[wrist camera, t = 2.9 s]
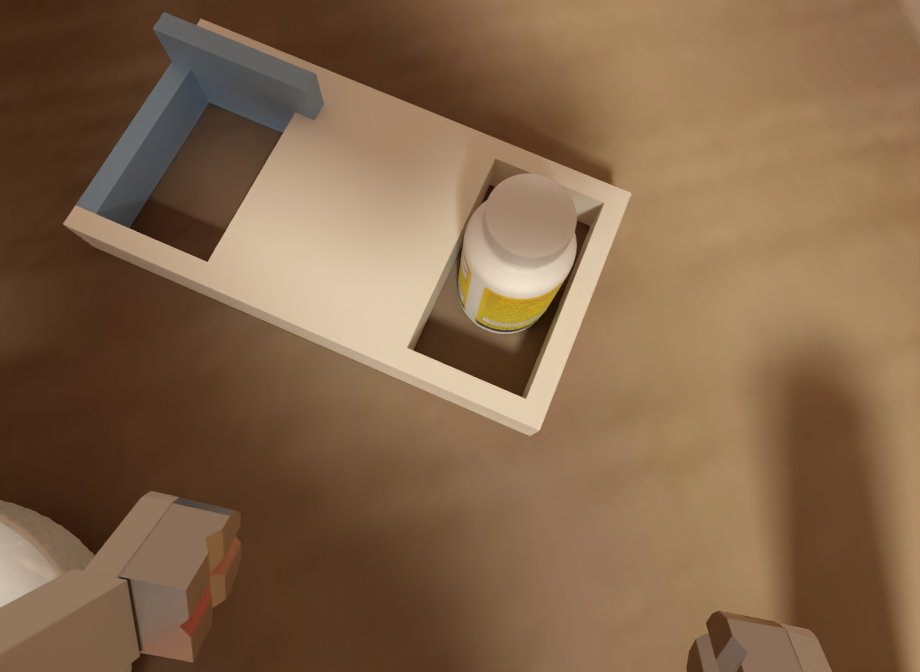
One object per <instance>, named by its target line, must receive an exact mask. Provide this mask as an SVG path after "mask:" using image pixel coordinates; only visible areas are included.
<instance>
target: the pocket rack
mask: <svg viewBox="0 0 920 672" xmlns="http://www.w3.org/2000/svg"><path fill="white" fill-rule="evenodd" d="M152 29H153V31H154V33H155V34H156V36H157V38H158V39H159V41H160V43H161V44H162V46H163V48H164V49H165V51H166V53H167V55H168V56H169V58H170V60H171V61H172V62H171V64H170V65H169V67H168V68H167V70H166V71H165V73H164V74H163V76H162V77H161V79H160V80H159V82H158V83H157V85H156V86H155V88H154V89H153V91H152V92H151V94H150V95H149V97H148V98H147V100H146V101H145V103H144V104H143V106H142V107H141V108H140V110H139V111H138V113H137V114H136V116H135V117H134V119H133V120H132V122H131V123H130V125H129V126H128V128H127V129H126V131H125V132H124V134H123V135H122V137H121V138H120V140H119V141H118V143H117V144H116V146H115V147H114V149H113V150H112V152H111V153H110V155H109V156H108V158H107V159H106V161H105V162H104V164H103V165H102V167H101V168H100V170H99V171H98V173H97V174H96V176H95V177H94V179H93V180H92V182H91V183H90V184H89V186H88V187H87V189H86V190H85V192H84V193H83V195H82V196H81V198H80V199H79V201H78V202H77V204H76V205H75V207H74V208H73V210H72V211H71V213H70V214H69V216H68V217H67V219H66V220H65V222H64V223H63V225H64V226H66V227H67V228H69V229H70V230H71V231H73V232H74V233H75V234H77V235H78V236H79V237H81V238H82V239H84V240H85V241H86V242H88V243H89V244H90V245H92V246H93V247H95V248H97V249H99V250H102V251H104V252H106V253H109V254H111V255H113V256H116V257H118V258H120V259H122V260H125V261H127V262H129V263H132V264H134V265H136V266H139V267H141V268H143V269H146V270H148V271H150V272H152V273H155V274H157V275H159V276H162V277H164V278H166V279H169V280H171V281H173V282H176V283H178V284H180V285H182V286H185V287H187V288H189V289H192V290H194V291H196V292H199V293H201V294H203V295H206V296H208V297H210V298H212V299H215V300H217V301H219V302H222V303H224V304H226V305H229V306H231V307H233V308H235V309H238V310H240V311H242V312H245V313H247V314H249V315H252V316H254V317H256V318H259V319H261V320H263V321H265V322H268V323H270V324H272V325H275V326H277V327H279V328H282V329H284V330H286V331H289V332H291V333H293V334H295V335H298V336H300V337H302V338H305V339H307V340H309V341H312V342H314V343H316V344H319V345H321V346H323V347H325V348H328V349H330V350H332V351H335V352H337V353H339V354H342V355H344V356H346V357H349V358H351V359H353V360H355V361H358V362H360V363H362V364H365V365H367V366H369V367H372V368H374V369H376V370H379V371H381V372H383V373H385V374H388V375H390V376H392V377H395V378H397V379H399V380H402V381H404V382H406V383H409V384H411V385H413V386H415V387H418V388H420V389H422V390H425V391H427V392H429V393H432V394H434V395H436V396H438V397H441V398H443V399H445V400H448V401H450V402H452V403H455V404H457V405H459V406H462V407H464V408H466V409H468V410H471V411H473V412H475V413H478V414H480V415H482V416H485V417H487V418H489V419H492V420H494V421H496V422H498V423H501V424H503V425H505V426H508V427H510V428H512V429H515V430H517V431H519V432H522V433H524V434H526V435H528V436H531V435H532V434H534V433H536V432H538V431H540V428H541V426H542V423H543V420H544V418H545V415H546V413H547V410H548V407H549V405H550V402H551V400H552V397H553V395H554V392H555V389H556V387H557V384H558V382H559V379H560V376H561V374H562V371H563V369H564V366H565V364H566V361H567V358H568V356H569V353H570V351H571V348H572V346H573V343H574V340H575V338H576V335H577V333H578V330H579V327H580V325H581V322H582V320H583V317H584V315H585V312H586V309H587V307H588V304H589V302H590V299H591V296H592V294H593V291H594V289H595V286H596V284H597V281H598V278H599V276H600V273H601V271H602V268H603V266H604V263H605V260H606V258H607V255H608V253H609V250H610V247H611V245H612V242H613V240H614V237H615V235H616V232H617V229H618V227H619V224H620V222H621V219H622V216H623V214H624V211H625V209H626V206H627V204H628V201H629V198H630V196H631V193H630V192H627V191H625V190H622V189H620V188H617V187H615V186H612V185H610V184H607V183H605V182H603V181H600V180H598V179H595V178H593V177H590V176H588V175H585V174H583V173H580V172H578V171H575V170H573V169H570V168H568V167H566V166H563V165H561V164H558V163H556V162H553V161H551V160H548V159H546V158H543V157H541V156H538V155H536V154H533V153H531V152H529V151H526V150H524V149H521V148H519V147H516V146H514V145H511V144H509V143H506V142H504V141H501V140H499V139H497V138H494V137H492V136H489V135H487V134H484V133H482V132H479V131H477V130H474V129H472V128H469V127H467V126H464V125H462V124H460V123H457V122H455V121H452V120H450V119H447V118H445V117H442V116H440V115H437V114H435V113H432V112H430V111H427V110H425V109H423V108H420V107H418V106H415V105H413V104H410V103H408V102H405V101H403V100H400V99H398V98H395V97H393V96H391V95H388V94H386V93H383V92H381V91H378V90H376V89H373V88H371V87H368V86H366V85H363V84H361V83H358V82H356V81H354V80H351V79H349V78H346V77H344V76H341V75H339V74H336V73H334V72H331V71H329V70H326V69H324V68H322V67H319V66H317V65H314V64H312V63H309V62H307V61H304V60H302V59H299V58H297V57H294V56H292V55H289V54H287V53H285V52H282V51H280V50H277V49H275V48H272V47H270V46H267V45H265V44H262V43H260V42H257V41H255V40H252V39H250V38H248V37H245V36H243V35H240V34H238V33H235V32H233V31H230V30H228V29H225V28H223V27H220V26H218V25H216V24H213V23H211V22H208V21H206V20H203V19H200V21H199V22H198V24H197V25H195V24H192V23H190V22H187V21H185V20H182V19H180V18H177V17H175V16H173V15H170V14H168V13H165V12H164V13H163V14H162V16H161V17H160V18H159V20H158V21H157V23H156V24H155V26H154V27H153V28H152ZM209 103H211V104H213V105H216V106H218V107H221V108H223V109H225V110H228V111H230V112H233V113H235V114H238V115H240V116H242V117H245V118H247V119H250V120H252V121H254V122H257V123H259V124H262V125H264V126H267V127H269V128H271V129H274V130H276V131H279V132H281V133H283V134H282V136H281V137H280V139H279V141H278V143H277V144H276V146H275V148H274V149H273V151H272V153H271V155H270V156H269V158H268V160H267V161H266V163H265V165H264V167H263V168H262V170H261V172H260V173H259V175H258V177H257V178H256V180H255V182H254V184H253V185H252V187H251V189H250V190H249V192H248V194H247V196H246V197H245V199H244V201H243V202H242V204H241V206H240V207H239V209H238V211H237V213H236V214H235V216H234V218H233V219H232V221H231V223H230V225H229V226H228V228H227V230H226V231H225V233H224V235H223V236H222V238H221V240H220V242H219V243H218V245H217V247H216V248H215V250H214V252H213V254H212V255H211V257H210V259H209V260H208V262H206V261H204V260H201V259H199V258H197V257H195V256H192V255H190V254H188V253H185V252H183V251H181V250H178V249H176V248H174V247H171V246H169V245H167V244H164V243H162V242H160V241H157V240H155V239H153V238H150V237H148V236H146V235H143V234H141V233H139V232H136V231H134V230H132V229H129V228H130V227H131V225H132V224H133V222H134V220H135V219H136V217H137V216H138V214H139V213H140V211H141V209H142V208H143V206H144V205H145V203H146V202H147V200H148V198H149V197H150V195H151V194H152V192H153V191H154V189H155V187H156V186H157V184H158V183H159V181H160V180H161V178H162V176H163V175H164V173H165V172H166V170H167V169H168V167H169V165H170V164H171V162H172V161H173V159H174V158H175V156H176V154H177V153H178V151H179V150H180V148H181V147H182V145H183V143H184V142H185V140H186V139H187V137H188V136H189V134H190V132H191V131H192V129H193V128H194V126H195V124H196V123H197V121H198V120H199V118H200V117H201V115H202V113H203V112H204V110H205V109H206V107H207V106H208V104H209ZM527 173H531V174H539V175H542V176H545V177H548V178H550V179H552V180H554V181H556V182H557V183H559V184H560V185H561V186H562V187H563V188H564V189H565V190H566V191H567V192H568V194H569V195H570V197H571V198H572V200H573V202H574V205H575V208H576V213H577V221H579V222H582V223H584V224H586V225H589V226H590V228H589V231H588V233H587V236H586V238H585V241H584V243H583V246H582V248H581V251H580V253H579V256H578V258H577V261H576V263H575V265H574V268H573V270H572V273H571V275H570V278H569V280H568V283H567V285H566V288H565V290H564V293H563V295H562V298H561V300H560V303H559V305H558V308H557V310H556V313H555V315H554V318H553V320H552V323H551V325H550V328H549V330H548V333H547V335H546V338H545V340H544V343H543V345H542V348H541V350H540V353H539V355H538V358H537V360H536V363H535V365H534V368H533V370H532V372H531V375H530V377H529V380H528V382H527V385H526V387H525V390H524V392H523V395H522V397H520V396H518V395H515V394H513V393H511V392H508V391H506V390H504V389H501V388H499V387H497V386H494V385H492V384H490V383H487V382H485V381H483V380H481V379H478V378H476V377H474V376H471V375H469V374H467V373H464V372H462V371H460V370H457V369H455V368H453V367H450V366H448V365H446V364H443V363H441V362H439V361H436V360H434V359H432V358H429V357H427V356H425V355H422V354H420V353H418V352H415V351H413V350H414V348H415V346H416V344H417V342H418V339H419V337H420V335H421V333H422V331H423V329H424V326H425V324H426V322H427V320H428V318H429V316H430V313H431V311H432V309H433V307H434V305H435V303H436V300H437V298H438V296H439V294H440V292H441V290H442V288H443V285H444V283H445V281H446V279H447V277H448V275H449V272H450V270H451V268H452V266H453V264H454V262H455V259H456V257H457V255H458V253H459V251H460V249H461V246H462V244H463V241H464V234H465V231H466V228H467V225H468V222H469V220H470V218H471V216H472V215H473V213H474V212H475V211H476V209H477V208H478V207H479V206H480V205H481V203H482V201H483V199H484V197H485V195H486V192H487V190H488V188H489V186H490V185H491V186H494V187H496V186H497V185H498V184H500V183H501V182H502V181H504V180H505V179H507V178H509V177H512V176H515V175H519V174H527Z"/></svg>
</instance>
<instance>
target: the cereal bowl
mask: <svg viewBox="0 0 920 672" xmlns="http://www.w3.org/2000/svg"><path fill="white" fill-rule="evenodd" d="M93 557H94V554H93V553H92V552H91V551H89V550H88V548H87V547H86V546H84V544H82V543H81V541H80V539H79V538H77V537H75V536H74V535H73V534H71V533H70V532H69V531H68V530H67V529H65V528H64V527H63V526H61V525H59V524H57V523H55V522H54V521H52V520H51V519H50V518H49V517H45V516H42V515H40V514H38V513H37V512H36V511H33V510H31V509H28V508H24V507H22V506H20V505H16V504H14V503H10V502H4V501H2V500H0V607H2V606H4V605H6V604H8V603H10V602H12V601H14V600H15V599H17V598H19V597H21V596H23V595H25V594H27V593H29V592H31V591H33V590H35V589H36V588H38V587H40V586H42V585H44V584H46V583H48V582H50V581H52V580H54V579H55V578H57V577H59V576H61V575H63V574H65V573H67V572H69V571H71V570H73V569H78V570H84V569H85V568H86V566H87V565H88V564H89V562H90V561H91V560H92V559H93ZM131 669H132V665H131V664H130V665H128V666H127V667H126V668H124V669H123V670H122V671H121V672H131Z"/></svg>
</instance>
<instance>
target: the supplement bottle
mask: <svg viewBox="0 0 920 672" xmlns="http://www.w3.org/2000/svg"><path fill="white" fill-rule="evenodd" d="M576 223H577V213H576V208H575V205H574V202H573V200H572V198H571V197H570V195H569V194H568V192H567V191H566V190H565V189H564V188H563V187H562V186H561V185H560V184H559V183H557V182H556V181H554V180H552V179H550V178H548V177H545V176H542V175H539V174H531V173H527V174H519V175H515V176H512V177H509V178H507V179H505V180H504V181H502V182H501V183H500V184H498V185H497V186H496V187H495V188H494V190H493V191H492V192H491V194H490V195H489V197H488V200H486V201H485V202H484V203H482V204H481V205H480V206H479V207H478V208H477V209H476V211H475V212H474V213H473V215H472V216H471V218H470V220H469V222H468V225H467V228H466V231H465V234H464V241H463V248H462V255H461V262H460V269H459V275H458V297H459V301H460V304H461V306H462V308H463V310H464V312H465V313H466V315H467V316H468V317H469V318H470V319H471V320H472V321H473V322H474V323H475V324H476V325H478V326H479V327H481V328H483V329H485V330H487V331H490V332H494V333H499V334H510V333H516V332H520V331H522V330H525V329H527V328H528V327H530V326H532V325H533V324H534V323H535V322H536V321H537V320H538V319H539V318H540V317H541V316H542V315H543V314H544V312H545V311H546V309H547V308H548V306H549V305H550V303H551V301H552V300H553V298H554V296H555V295H556V293H557V292H558V290H559V288H560V287H561V285H562V284H563V282H564V280H565V279H566V277H567V276H568V274H569V272H570V270H571V268H572V266H573V263H574V260H575V256H576V249H577V242H576V235H575V228H576Z"/></svg>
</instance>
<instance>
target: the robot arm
mask: <svg viewBox="0 0 920 672" xmlns="http://www.w3.org/2000/svg"><path fill="white" fill-rule="evenodd" d="M240 526H241V517H240V512H239V511H236V510H232V509H228V508H223V507H219V506H215V505H211V504H207V503H202V502H198V501H194V500H190V499H186V498H181V497H177V496H172V495H168V494H163V493H159V492H154V491H150V492H148V493H147V494H146V495H144V496H143V497H141V498H140V499H139V501H138V502H137V503H136V504H135V506H134V507H133V508H132V509H131V511H130V512H129V513H128V515H127V516H126V517H125V518H124V520H123V521H122V522H121V523H120V525H119V526H118V527H117V528H116V530H115V531H114V532H113V533H112V535H111V536H110V537H109V538H108V540H107V541H106V542H105V544H104V545H103V546H102V547H101V549H100V550H99V551H98V552H97V554H96V555H95V556H94V557H93V559H92V560H91V561H90V562H89V564H88V565H87V566H86V568H85V569H84V570H78V569H73V570H71V571H69V572H67V573H65V574H63V575H61V576H59V577H57V578H55V579H54V580H52V581H50V582H48V583H46V584H44V585H42V586H40V587H38V588H36V589H35V590H33V591H31V592H29V593H27V594H25V595H23V596H21V597H19V598H17V599H15V600H14V601H12V602H10V603H8V604H6V605H4V606H2V607H0V672H121V671H122V670H123V669H124V668H126V667H127V666H128V665H130V664H131V663H132V662H133V661H135V660H136V659H137V658H139V657H140V653H144V654H149V655H155V656H161V657H166V658H172V659H177V660H183V661H188V662H194V660H195V658H196V656H197V654H198V652H199V650H200V648H201V646H202V644H203V642H204V641H205V639H206V637H207V635H208V633H209V631H210V629H211V627H212V625H213V612H212V608H213V607H215V606H217V605H218V604H220V603H221V602H223V601H224V600H226V598H227V596H228V594H229V592H230V590H231V588H232V586H233V584H234V581H235V578H236V575H237V572H238V569H239V566H240V560H241V553H242V544H241V542H240V541H239V540H238V538H237V537H236V534H237V532H238V530H239V528H240ZM706 625H707V629H708V634H706V635H704V636H701V637H699V638H697V639H696V640H695V641H694V643H693V645H692V647H691V649H690V650H689V655H688V661H687V667H686V668H687V672H832V670H831V668H830V666H829V664H828V661H827V659H826V657H825V655H824V652H823V650H822V648H821V646H820V643H819V641H818V639H817V637H816V636H815V635H814V634H813V633H812V631H811V630H809V629H805V628H800V627H795V626H790V625H786V624H781V623H776V622H774V621H769V620H764V619H759V618H754V617H749V616H744V615H739V614H733V613H728V612H723V611H717V612H715V613H713V614H711V616H710V618H709V619H708V621H707V622H706Z"/></svg>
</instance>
